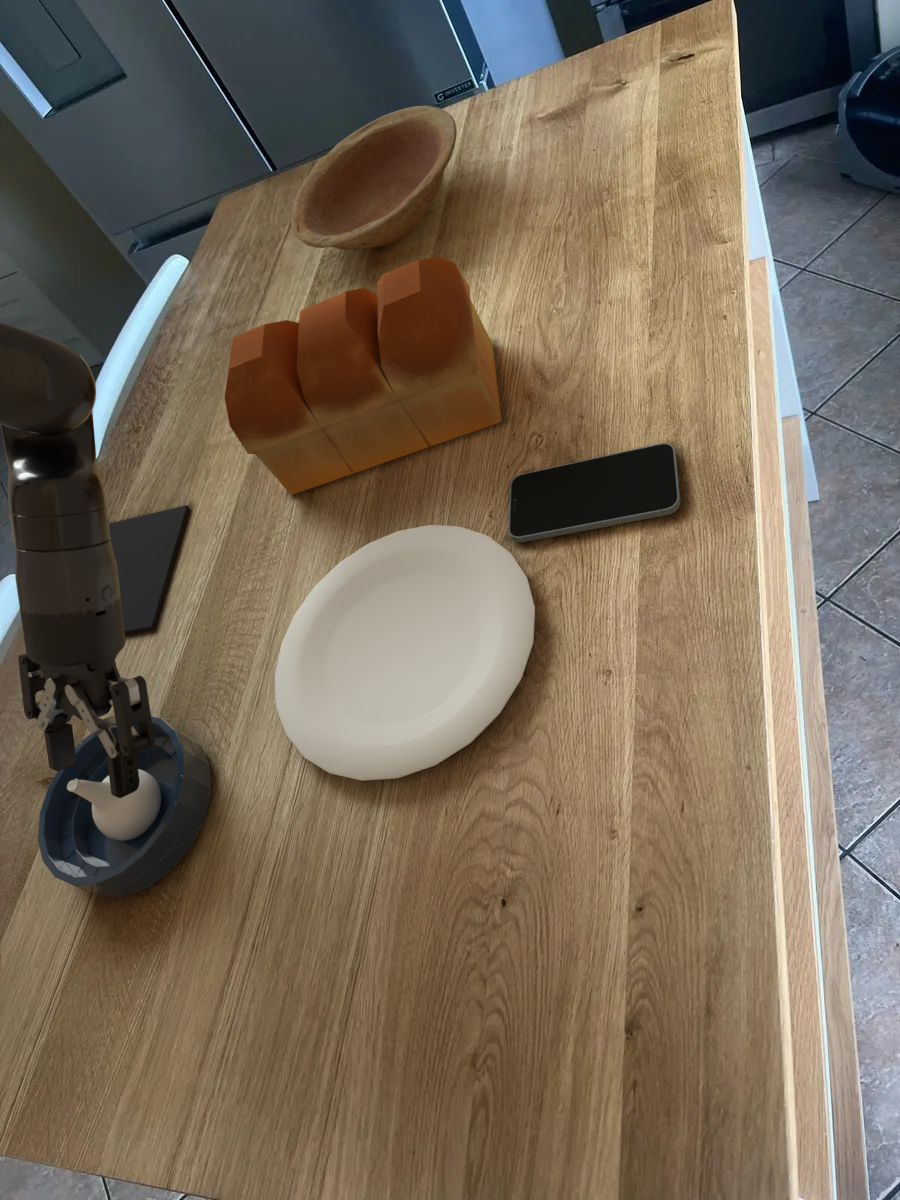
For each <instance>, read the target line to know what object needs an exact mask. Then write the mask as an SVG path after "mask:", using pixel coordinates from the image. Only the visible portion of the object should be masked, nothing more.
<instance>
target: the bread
mask: <svg viewBox="0 0 900 1200" xmlns="http://www.w3.org/2000/svg"><path fill="white" fill-rule="evenodd" d="M376 286H377V293H376V292H373V291H371V290H369V289H367V288H365V287H361V288H356V289H352V290H348V291H344V292H342V293H339V294H337V295H335V296H332V297H330V298H326V299H325V300H323V301H320V302H318V303H315V304H313V305H311V306H308V307H306V308H303V309H301V310H299V320H298V322H297V321H293V320H289V319H288V320H287V319H285V320H280V321H275V322H269V323H265V324H261V325H259V326H256V327H254V328H252V329H250V330H247V331H245V332H243V333H241V334H238V335H235V336H233V337H232V341H231V347H230V353H229V362H228V368H227V369H228V370H227V376H226V378H227V379H226V384H225V392H224V402H225V408H226V413H227V418H228V424H229V427H230V428H231V430H232V431H233V433H234V435H235V436H236V438H237V439H238V441H239V443H240V444H241V445H242V447H243V448H244V450H245V452H246V453H247V455H255V456H256V457H257V458H258V459H259V460H260V462H261V463H262V464H263V465H264V466H265V467H266V468H267V469H268V471H269V472H270V473H271V474H272V475H273V476H274V478H276V480H277V481H278V482H279V483H280V484H281V485H282V486H283V488H284V489H285V490H286V491H287V492H288V494H290V495H291V496H293V495H296V494H300V493H302V492H305V491H308V490H311V489H313V488H317V487H319V486H322V485H325V484H328V483H330V482H333V481H336V480H339V479H342V478H345V477H348V476H350V475H353V474H357V473H359V472H362V471H365V470H368V469H370V468H373V467H376V466H379V465H382V464H384V463H385V464H386V463H388V462H391V461H393V460H397V459H399V458H402V457H405V456H407V455H410V454H413V453H416V452H419V451H422V450H425V449H428V448H431V447H434V446H436V445H439V444H442V443H444V442H448V441H450V440H454V439H456V438H459V437H462V436H466V435H467V434H470V433H473V432H476V431H479V430H482V429H485V428H488V427H491V426H493V425H496V424H499V423H502V421H503V419H502V411H501V404H500V403H501V402H500V395H499V387H498V379H497V378H498V377H497V369H496V362H495V355H494V346H493V342H492V339H491V337H490V336H489V333H488V331H487V330H486V328H485V326H484V324H483V322H482V320H481V317H480V316H479V314H478V312H477V309H476V307H475V305H474V303H473V301H472V300H471V292H470V284H469V283H468V281H467V280H466V278H465V277H464V275H463V274H462V272H461V271H460V268H459V267H458V266H457V264H456V262H455V261H451V260H449V259H446V258H444V257H441V256H434V257H433V256H432V257H427V258H421V259H416V260H414V261H412V262H410V263H407V264H405V265H402V266H400V267H397V268H395V269H393V270H391V271H389V272H386V273H384V274H382V275H381V277H380V278H379V279H378V281H377V285H376Z"/></svg>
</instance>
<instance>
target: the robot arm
mask: <svg viewBox="0 0 900 1200" xmlns="http://www.w3.org/2000/svg"><path fill="white" fill-rule="evenodd" d="M96 385H97V384H96V380H95V377H94V374H93V372H92V370H91V368H90V366H89V365H88V363H87V361H86V360H85V359H84V358H83V356H82V355H81V354H80V353H78V351H76V350H75V349H74V348H72V347H71V346H70V345H68V344H66V343H63V342H62V341H59V340H56V339H54V338H51V337H48V336H44V335H42V334H38V333H37V332H36V333H35V332H32V331H29V330H27V329H22V328H20V327H16V326H14V325H11V324H9V323H5V322H1V321H0V431H1V435H2V441H3V446H4V452H5V457H6V461H7V469H8V479H7V480H8V481H7V502H8V511H9V517H10V526H11V533H12V540H13V545H14V575H15V576H14V577H15V585H16V592H17V599H18V604H19V606H18V607H19V612H20V619H21V627H22V633H23V640H24V641H23V642H24V646H25V653H22V654H20V655H18V657H17V659H18V669H19V678H20V688H21V696H22V705H23V713H24V715H25V717H26V719H28V720H33V719H35V720H36V724H37V727H38V729H39V730H40V731H41V732H43V734H44V740H45V746H46V747H45V748H46V754H47V755H46V756H47V762H48V767H49V769H50V770H53V771H55V772H57V771H60V770H63V769H65V768H67V767H70V766H72V765H74V764H75V762H76V752H75V748H76V745H75V737H74V729H73V725H72V724H71V723H70V721H71V720H72V718H73V716H74V717H76V718H78V719H79V720H80V721H82V722H83V723H84V725H85V726H86V728H87V730H88V732H89V733H90V734H92V735H96V736H98V737H99V738H100V740H101V742H102V744H103V746H104V748H105V749H106V751H107V753H108V755H109V756H107V763H108V771H109V779H110V787H111V794H112V795H113V796H115V797H118V798H122V797H124V796H127V795H129V794H131V793H133V792H135V791H136V790H137V789H138V787H139V782H140V780H139V771H138V762H137V752H138V751H141V750H143V749H145V748H148V747H150V746H152V745H154V743H155V739H154V733H153V726H152V719H151V715H152V713H151V706H150V699H149V692H148V686H147V685H148V684H147V682H146V679H145V678H144V677H143V676H142V675H138V676H137V675H136V676H134V677H132V678H125V677H121V674H120V672H119V669H118V667H117V664H116V663H117V662H116V658H117V656H118V655H119V654H120V653H121V651H122V650H123V649H124V647H125V645H126V634H125V632H124V623H123V614H122V605H121V596H120V588H119V579H118V570H117V563H116V559H115V555H114V552H113V548H112V543H111V538H110V528H109V523H110V520H109V511H108V505H107V504H108V503H107V496H106V490H105V487H104V483H103V482H104V481H103V479H102V476H101V473H100V471H99V467H98V460H97V449H96V448H97V447H96V437H95V435H96V434H95V425H94V424H95V423H94V411H93V410H94V407H95V404H96V399H97V386H96ZM42 691H43V694H42V696H41V699H40V701H37V700H36V695H37V693H38V692H42ZM112 707H113V713H114V715H111V716H109V717H106V718H101V717H103V716H105V715H107V714H108V713H109V712H110V711H111V710H112ZM135 724H138V727H139V734H137V732H136V730H135V728H134V727H133V725H135ZM114 727H117V733H118V740H117V741H116V739H115V738H114V736H113V734H112V732H111V730H110V729H112V728H114Z"/></svg>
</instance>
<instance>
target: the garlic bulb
mask: <svg viewBox="0 0 900 1200" xmlns="http://www.w3.org/2000/svg"><path fill="white" fill-rule="evenodd" d="M138 771H139V780H140V782H139V787H138V789H137V790H136V791H135V792H133V793H131V794H129V795H127V796H124V797H122V798H118V797H115V796H113V795H112V794H111V787H110V779H109V776H107V777H106V778H105V779H104V780H103V781H102V782H93V781H86V780H79V779H75V780H71V781H70V782H69V783H68V785H67V789H68V790H69V791H70V792H74V793H76V794H78V795H79V796H81V797H83V798H85V799H86V800H88V801H90V802H91V803H92V816H93V819H94V822H95V824H96V826H97V827H98V829H99V830H100V831H101V832H102V833H103V834H104V835H106V836H107V837H109V838H112V839H115V840H122V841H124V840H131V839H134V838H136V837H138V836H140V835H141V834H143V833H144V832H145V831H146V830H147V829H148V828H149V827H150V826H151V825H152V824H153V822H154V821H155V819H156V817H157V815H158V813H159V809H160V805H161V792H160V788H159V785H158V783H157V781H156V780H155V778H154V777H152V776H151V775H150V774H149V773H147V772H145V771H143V770H140V769H138Z"/></svg>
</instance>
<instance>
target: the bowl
mask: <svg viewBox="0 0 900 1200" xmlns="http://www.w3.org/2000/svg"><path fill="white" fill-rule="evenodd" d="M457 135H458V131H457V124H456V121H455V119H454V118H453V116H452V115H451V113H449V112H448V111H447V110H445V109H443V108H441V107H439V106H438V107H437V106H433V105H415V106H411V107H410V106H409V107H405V108H401V109H398V110H396V111H392V112H389V113H387V114H384V115H382V116H380V117H378V118H376V119H374V120H372V121H370V122H368V123H367V124H365V125H363V126H361V127H359V128H358V129H357V130H355V131H354V132H352V133H351V134H349V135H347V136H346V137H345V138H344V139H342V140H341V141H339V142H337V144H335V146H334V147H333V148H332V149H331V150H329V152H328V153H327V154H326V155H325V156H323V158H321V160H320V161H318V163H317V164H316V165H315V166H314V167H313V169H312V170H311V171H310V172H309V174H308V175H307V176H306V178H305V179H304V181H303V183H302V184H301V186H300V188H299V190H298V191H297V194H296V196H295V198H294V201H293V204H292V210H291V217H290V225H291V229H292V232H293V234H294V236H295V237H296V238H297V239H298V241H300V242H301V243H303V244H305V245H306V246H308V247H312V248H315V249H324V248H335V249H337V250H342V251H344V250H345V251H346V250H347V251H349V250H350V251H351V250H359V249H369V248H379V247H383V246H387V245H390V244H393V243H396V242H398V241H399V240H401V239H403V238H404V237H406V236H408V234H409V233H410V232H412V231H413V230H414V229H415V227H416V226H417V225H418V224H419V223H420V222H421V221H422V220H423V217H424V215H425V214H426V212H427V211H428V210H429V208H430V207H431V205H432V204H433V202H434V201H435V199H436V197H437V196H438V194H439V192H440V191H441V188H442V185H443V181H444V172H445V170H446V168H447V167H448V165H449V164H450V160H451V159H452V156H453V152H454V149H455V146H456V141H457Z"/></svg>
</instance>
